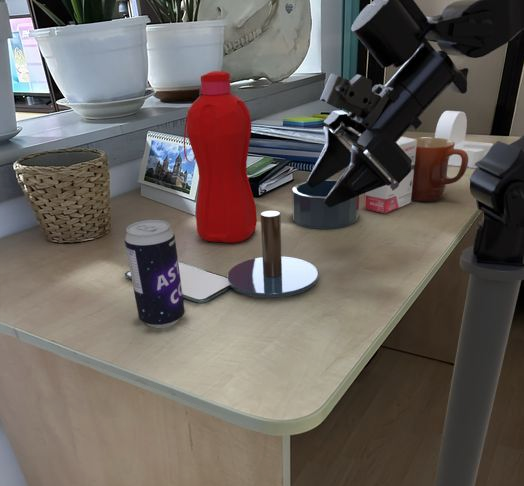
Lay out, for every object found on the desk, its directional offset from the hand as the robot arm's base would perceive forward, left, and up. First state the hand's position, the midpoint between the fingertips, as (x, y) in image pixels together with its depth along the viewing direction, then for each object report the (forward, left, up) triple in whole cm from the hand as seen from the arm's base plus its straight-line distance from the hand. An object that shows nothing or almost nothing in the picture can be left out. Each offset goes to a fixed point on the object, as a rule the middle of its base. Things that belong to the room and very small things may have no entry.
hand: (317, 194), depth 71 cm
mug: (-13, -40, -12) cm, 44 cm away
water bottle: (+20, -13, -12) cm, 26 cm away
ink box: (-5, -34, -12) cm, 36 cm away
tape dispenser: (-14, -73, -12) cm, 75 cm away
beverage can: (+16, +17, -12) cm, 26 cm away
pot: (+5, -25, -12) cm, 28 cm away
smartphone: (+19, +6, -12) cm, 23 cm away
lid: (+6, +3, -11) cm, 13 cm away
